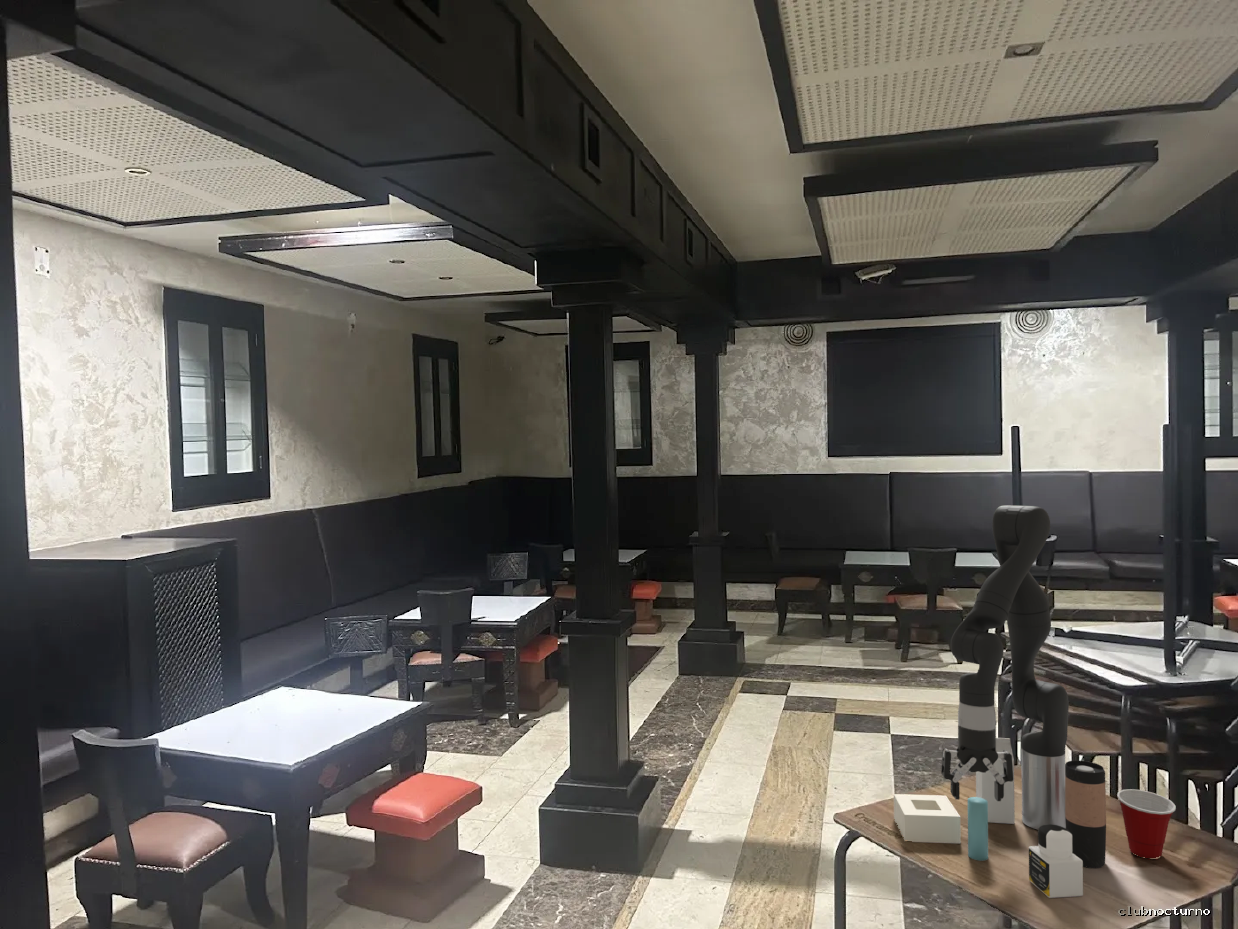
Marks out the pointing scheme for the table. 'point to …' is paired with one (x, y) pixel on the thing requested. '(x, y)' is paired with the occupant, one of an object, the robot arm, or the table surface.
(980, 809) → the peg
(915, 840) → the socket block
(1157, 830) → the plastic cup
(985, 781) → the milk carton
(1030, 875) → the medicine bottle
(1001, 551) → the robot arm
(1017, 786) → the table surface
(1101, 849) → the travel mug
